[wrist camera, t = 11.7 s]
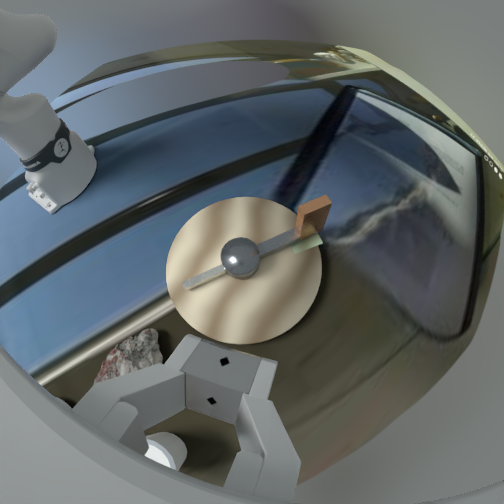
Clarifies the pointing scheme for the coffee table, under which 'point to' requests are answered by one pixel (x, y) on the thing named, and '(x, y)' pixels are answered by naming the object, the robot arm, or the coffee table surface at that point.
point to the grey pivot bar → (265, 245)
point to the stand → (246, 290)
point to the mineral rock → (131, 356)
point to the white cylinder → (166, 449)
